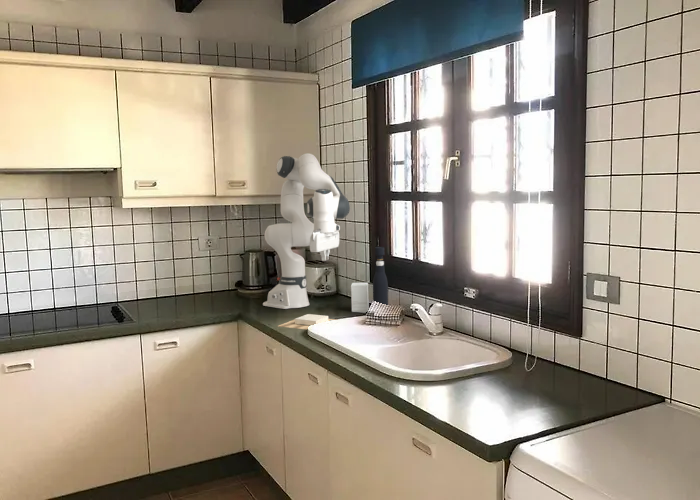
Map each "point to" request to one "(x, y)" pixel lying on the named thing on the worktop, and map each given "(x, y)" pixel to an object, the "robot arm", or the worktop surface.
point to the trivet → (296, 325)
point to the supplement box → (359, 297)
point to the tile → (311, 319)
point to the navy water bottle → (380, 279)
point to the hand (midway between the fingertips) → (325, 260)
